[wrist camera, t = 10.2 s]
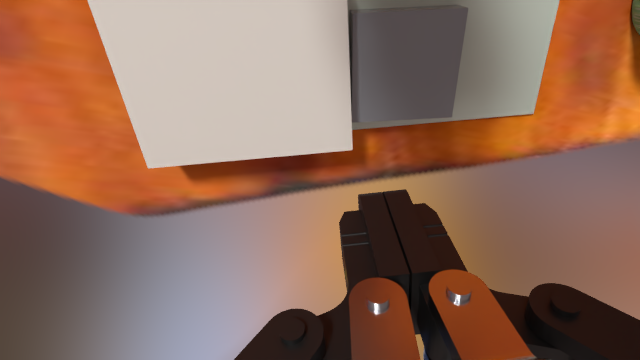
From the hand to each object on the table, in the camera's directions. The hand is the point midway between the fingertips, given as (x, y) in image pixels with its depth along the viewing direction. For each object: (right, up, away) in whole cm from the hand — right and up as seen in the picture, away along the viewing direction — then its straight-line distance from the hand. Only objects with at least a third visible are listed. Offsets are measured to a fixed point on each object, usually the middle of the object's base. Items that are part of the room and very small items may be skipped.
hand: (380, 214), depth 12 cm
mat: (+8, +11, +17) cm, 22 cm away
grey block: (+4, +10, +17) cm, 21 cm away
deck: (-8, +10, +17) cm, 22 cm away
